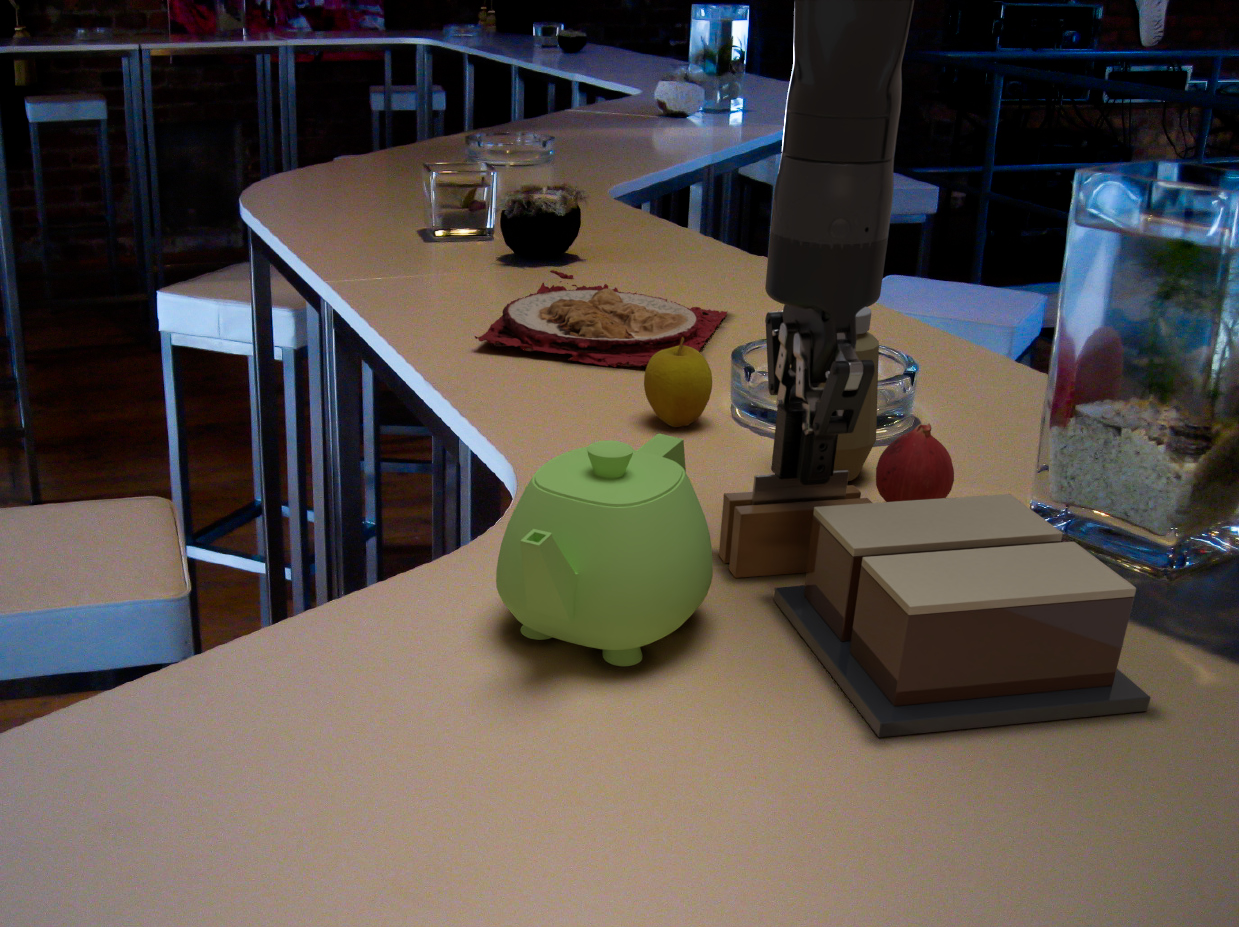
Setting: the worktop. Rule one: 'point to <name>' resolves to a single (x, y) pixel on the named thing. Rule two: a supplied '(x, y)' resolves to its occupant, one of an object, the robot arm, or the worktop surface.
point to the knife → (794, 466)
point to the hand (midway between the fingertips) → (802, 471)
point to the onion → (915, 468)
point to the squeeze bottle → (861, 441)
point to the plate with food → (600, 324)
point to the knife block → (770, 533)
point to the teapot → (607, 548)
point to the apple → (678, 384)
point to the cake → (961, 616)
